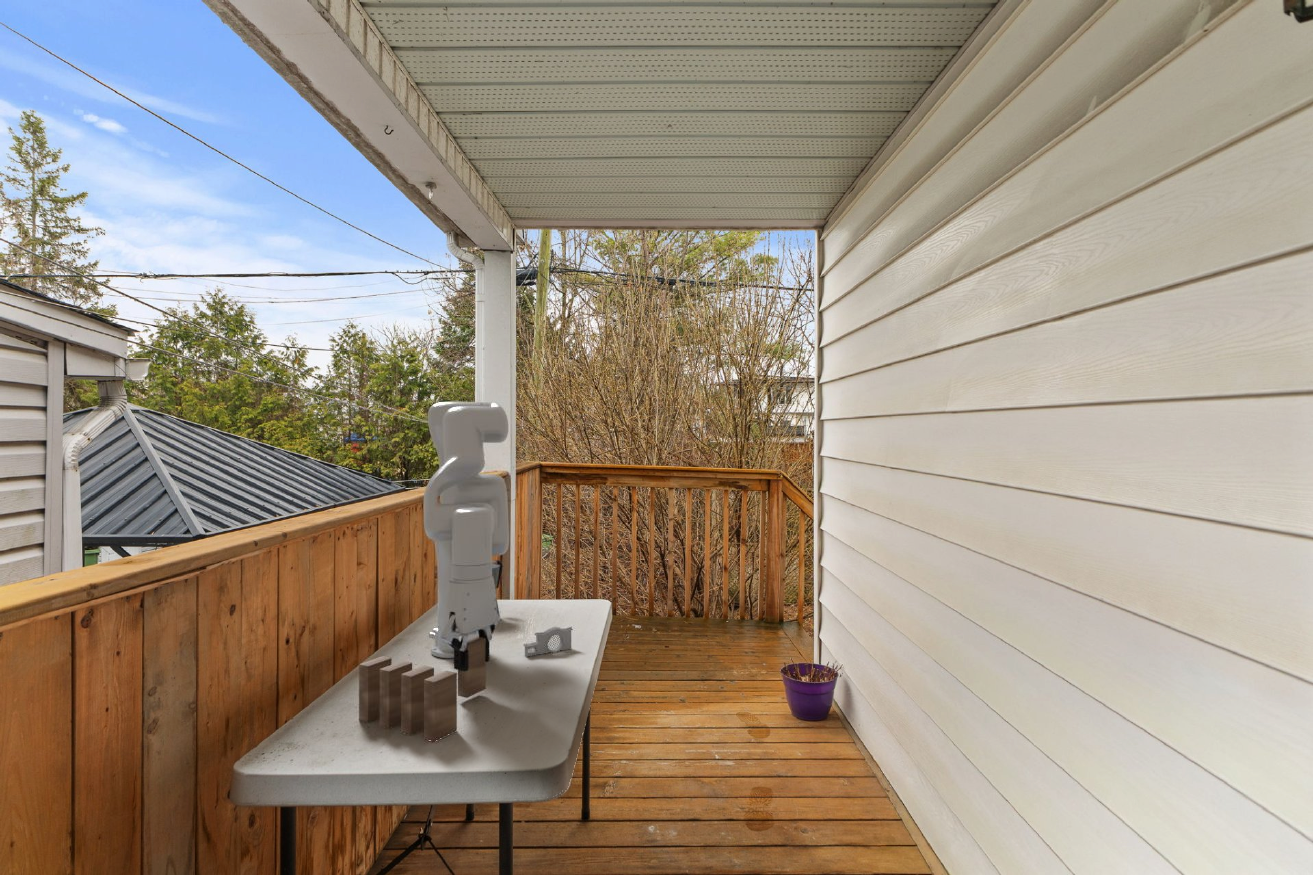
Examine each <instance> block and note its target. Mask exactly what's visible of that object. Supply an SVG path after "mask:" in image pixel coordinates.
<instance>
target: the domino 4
mask: <svg viewBox="0 0 1313 875" xmlns="http://www.w3.org/2000/svg"><path fill="white" fill-rule="evenodd" d="M457 697H458V672H456V671H455V672H454V671H449V670H444V671H442V672H440V673H437V674H434V676H432V677H429V678H427V679H424V730H423V740H424V739H426V740H431V741H432V742H431V743H433V742H435V741H436V740H439V739H440V738H443V737H444V736H446V737H448V736H449V735H448V734H450V735H452V734H453V733H452V732H454V733H456V732H457V731H458V723H457V722H458V719H457V718H458V713H457V712H458V708H457V707H458V698H457ZM456 730H457V731H456ZM455 731H456V732H455ZM451 733H452V734H451ZM447 735H448V736H447ZM444 738H445V737H444ZM444 738H443V739H444ZM426 740H425V741H426ZM439 741H440V740H439ZM435 743H436V742H435Z"/></svg>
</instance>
